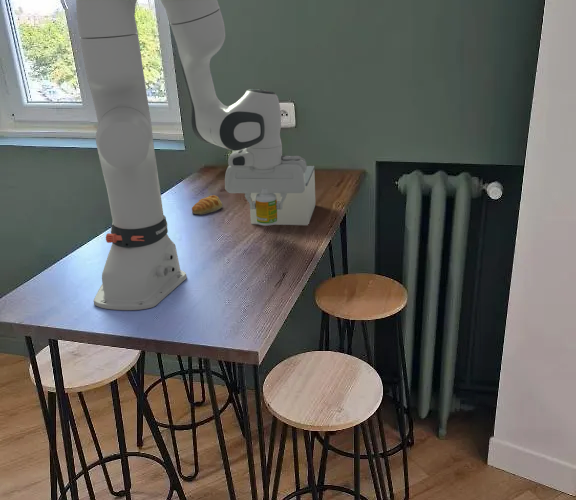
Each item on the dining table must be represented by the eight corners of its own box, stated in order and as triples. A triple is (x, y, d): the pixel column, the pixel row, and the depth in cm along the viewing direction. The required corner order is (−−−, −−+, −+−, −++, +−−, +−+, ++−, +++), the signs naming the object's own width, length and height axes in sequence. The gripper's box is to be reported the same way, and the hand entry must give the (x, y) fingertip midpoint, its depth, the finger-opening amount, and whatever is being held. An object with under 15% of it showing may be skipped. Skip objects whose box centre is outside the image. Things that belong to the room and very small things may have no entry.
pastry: (202, 217, 173) (201, 205, 172) (186, 213, 177) (184, 201, 176) (224, 208, 180) (223, 196, 179) (208, 204, 184) (207, 192, 182)
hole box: (308, 225, 164) (307, 183, 159) (251, 224, 167) (248, 182, 162) (315, 205, 178) (314, 165, 174) (262, 204, 181) (260, 165, 176)
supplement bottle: (270, 227, 152) (269, 190, 148) (252, 224, 155) (250, 188, 151) (281, 220, 156) (279, 184, 153) (263, 217, 159) (261, 182, 155)
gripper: (306, 152, 150) (307, 204, 156) (226, 152, 152) (229, 204, 158) (305, 159, 145) (306, 213, 150) (221, 159, 146) (225, 212, 152)
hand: (266, 208), depth 154 cm, fingers closed on supplement bottle, 5 cm apart
